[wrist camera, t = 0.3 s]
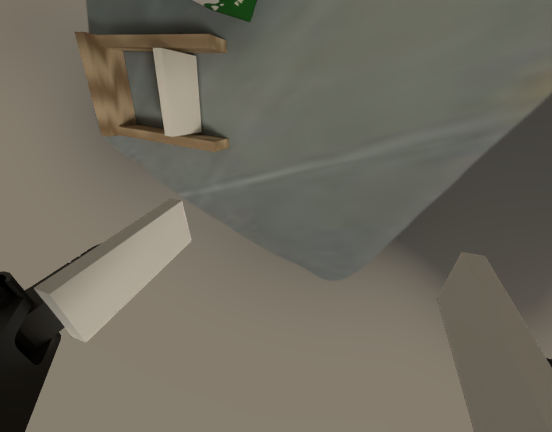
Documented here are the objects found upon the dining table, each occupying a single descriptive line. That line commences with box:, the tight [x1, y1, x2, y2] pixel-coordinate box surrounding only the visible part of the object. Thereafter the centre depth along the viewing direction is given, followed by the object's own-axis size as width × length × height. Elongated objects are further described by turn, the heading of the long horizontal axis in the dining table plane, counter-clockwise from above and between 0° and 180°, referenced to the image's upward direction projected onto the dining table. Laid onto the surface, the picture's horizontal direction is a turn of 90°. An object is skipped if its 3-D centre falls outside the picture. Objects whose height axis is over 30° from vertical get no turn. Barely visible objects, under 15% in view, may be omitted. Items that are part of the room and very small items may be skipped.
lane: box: [75, 32, 229, 152], centre depth 38 cm, size 15×23×6 cm, turn 86°
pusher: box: [153, 48, 202, 137], centre depth 36 cm, size 11×2×7 cm, turn 176°
